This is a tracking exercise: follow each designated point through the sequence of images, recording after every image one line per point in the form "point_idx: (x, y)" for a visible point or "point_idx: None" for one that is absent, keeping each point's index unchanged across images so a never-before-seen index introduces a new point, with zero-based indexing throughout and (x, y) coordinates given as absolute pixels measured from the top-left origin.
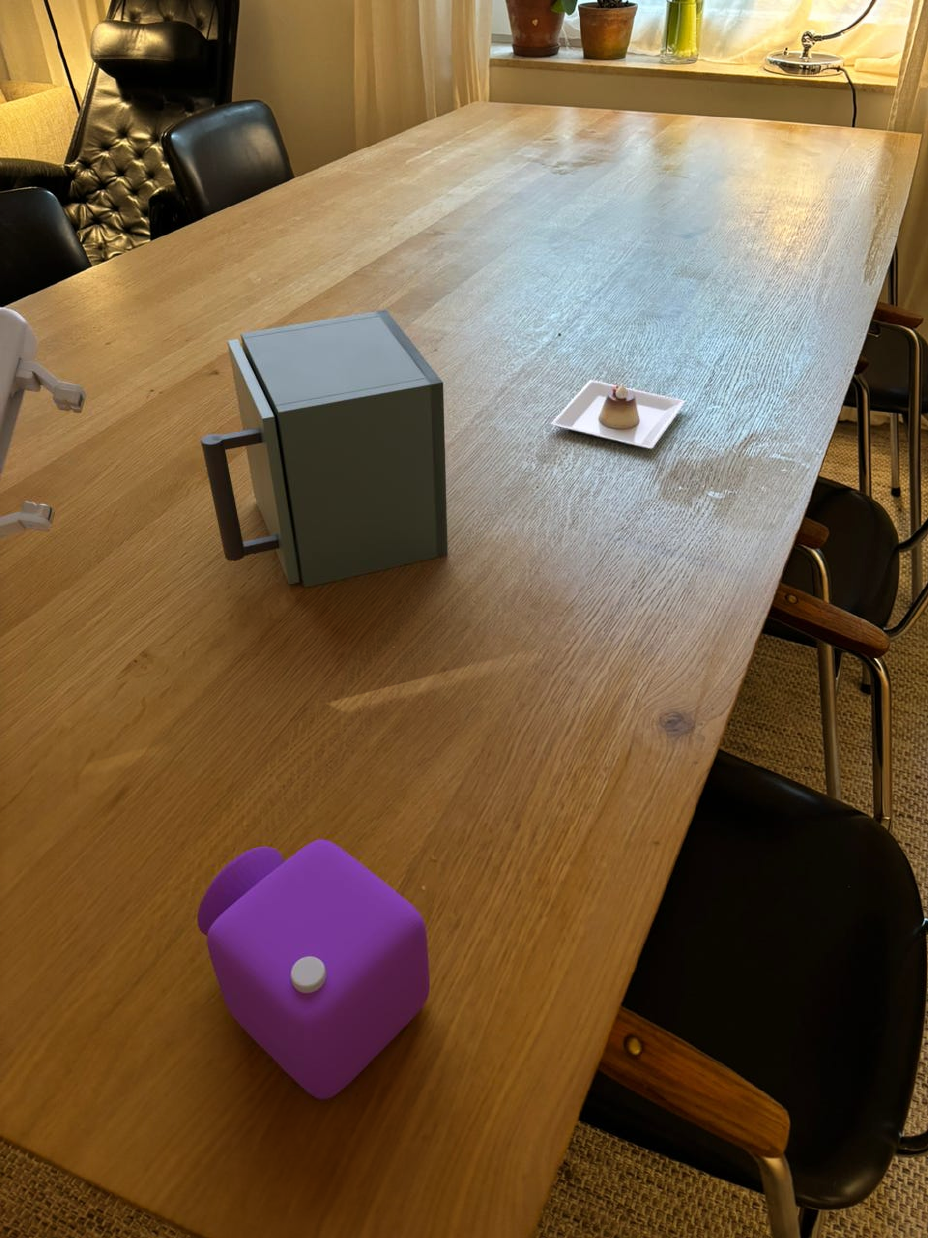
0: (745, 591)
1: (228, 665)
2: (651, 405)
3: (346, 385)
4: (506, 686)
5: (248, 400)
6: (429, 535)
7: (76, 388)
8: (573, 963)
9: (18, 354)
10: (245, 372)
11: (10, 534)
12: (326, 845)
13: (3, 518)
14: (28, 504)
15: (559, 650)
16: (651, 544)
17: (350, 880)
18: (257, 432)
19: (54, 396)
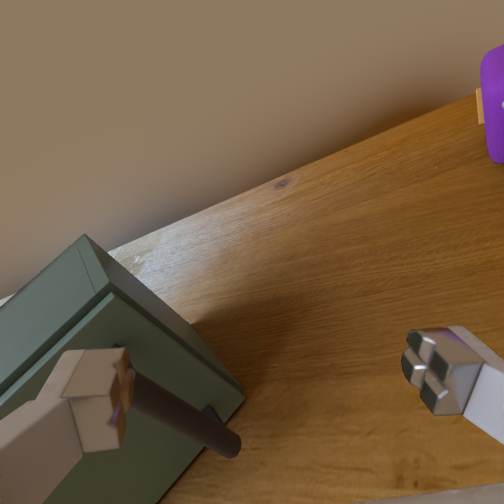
0: (199, 216)
1: (358, 377)
2: None
3: (72, 275)
4: (288, 232)
5: None
6: (182, 319)
7: (77, 351)
8: (421, 125)
9: None
10: (6, 397)
11: None
12: (493, 81)
13: None
14: (450, 355)
15: (254, 234)
16: (172, 255)
17: (501, 61)
18: (114, 345)
19: (101, 390)
